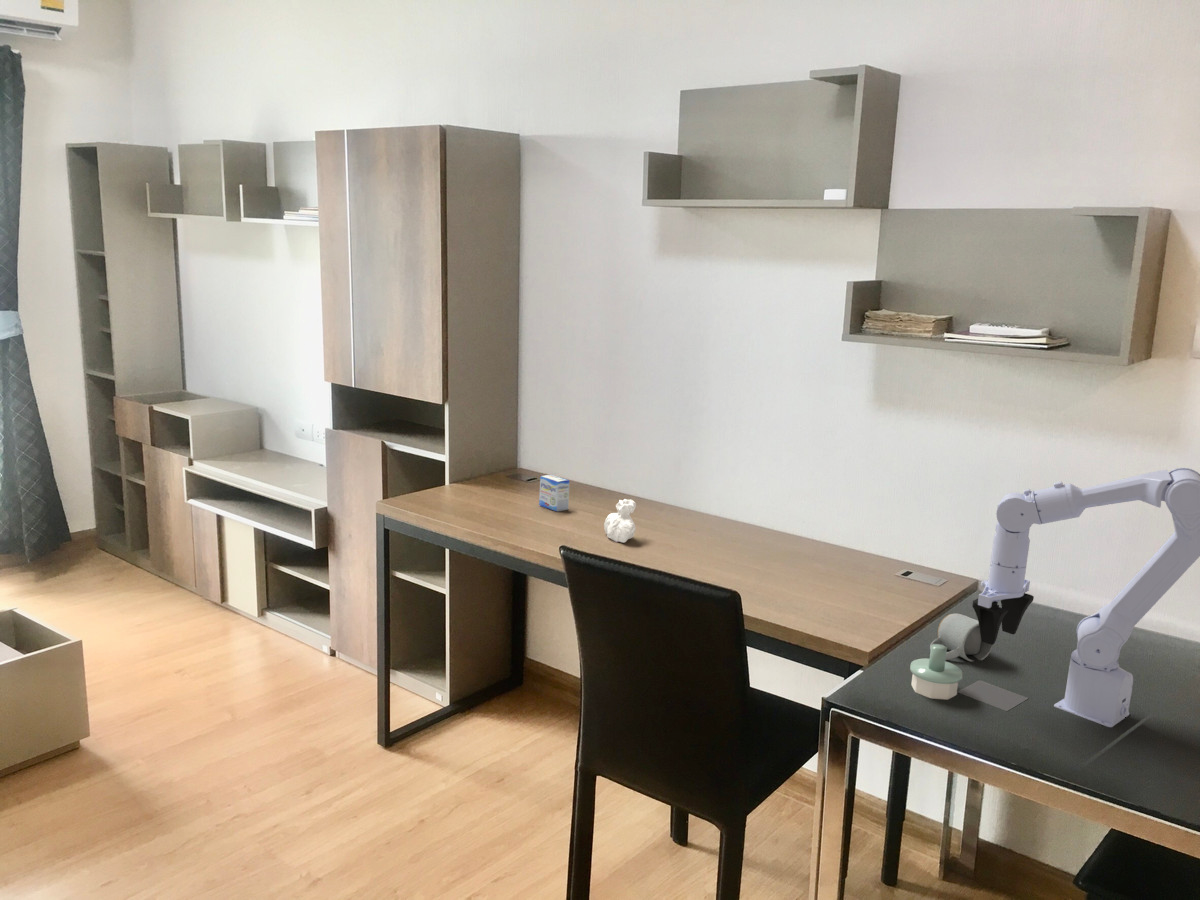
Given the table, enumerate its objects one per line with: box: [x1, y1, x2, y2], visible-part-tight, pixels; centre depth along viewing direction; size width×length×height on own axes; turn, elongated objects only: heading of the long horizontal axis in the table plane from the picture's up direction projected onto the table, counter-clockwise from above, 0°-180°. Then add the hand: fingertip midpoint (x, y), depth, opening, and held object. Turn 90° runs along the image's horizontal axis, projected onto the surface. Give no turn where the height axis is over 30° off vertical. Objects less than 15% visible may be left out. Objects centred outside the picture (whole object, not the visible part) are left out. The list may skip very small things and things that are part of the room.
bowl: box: [910, 673, 959, 700], centre depth 174 cm, size 7×7×4 cm
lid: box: [909, 644, 963, 684], centre depth 173 cm, size 9×9×5 cm
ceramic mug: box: [929, 612, 994, 662], centre depth 190 cm, size 11×8×8 cm
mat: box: [957, 679, 1029, 712], centre depth 173 cm, size 9×8×1 cm
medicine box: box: [538, 474, 570, 512], centre depth 280 cm, size 8×4×9 cm, turn 43°
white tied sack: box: [603, 498, 637, 544], centre depth 254 cm, size 12×8×11 cm
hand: (998, 637), depth 174 cm, fingers open, 7 cm apart
